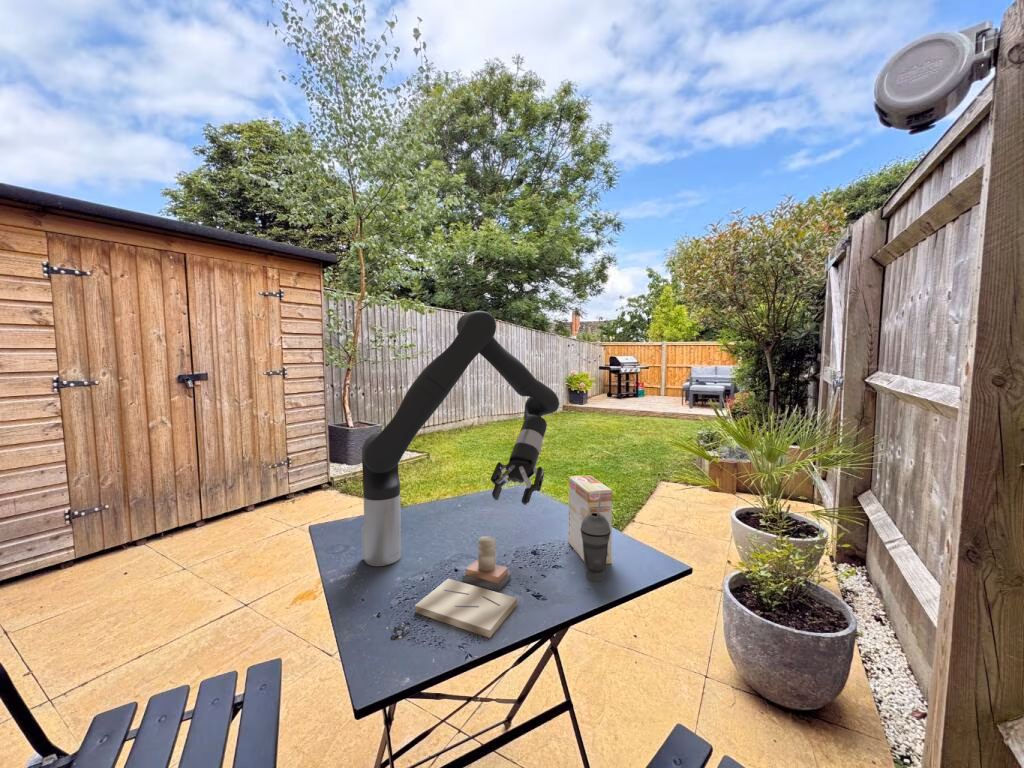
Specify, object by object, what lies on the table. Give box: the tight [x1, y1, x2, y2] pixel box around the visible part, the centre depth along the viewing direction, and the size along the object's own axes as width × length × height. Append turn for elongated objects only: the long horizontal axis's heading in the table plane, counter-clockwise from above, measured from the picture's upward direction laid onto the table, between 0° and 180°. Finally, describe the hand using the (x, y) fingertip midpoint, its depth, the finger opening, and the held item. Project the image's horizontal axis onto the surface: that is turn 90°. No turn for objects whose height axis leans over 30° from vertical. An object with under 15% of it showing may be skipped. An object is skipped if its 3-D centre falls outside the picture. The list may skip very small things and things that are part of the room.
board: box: [414, 578, 518, 638], centre depth 88 cm, size 18×12×2 cm, turn 64°
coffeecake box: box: [567, 474, 613, 565], centre depth 114 cm, size 15×7×20 cm, turn 12°
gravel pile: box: [386, 620, 411, 641], centre depth 81 cm, size 7×8×2 cm
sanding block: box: [461, 535, 512, 592], centre depth 100 cm, size 10×6×10 cm, turn 64°
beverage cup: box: [580, 497, 611, 582], centre depth 101 cm, size 7×7×20 cm
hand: (509, 501), depth 109 cm, fingers open, 8 cm apart
